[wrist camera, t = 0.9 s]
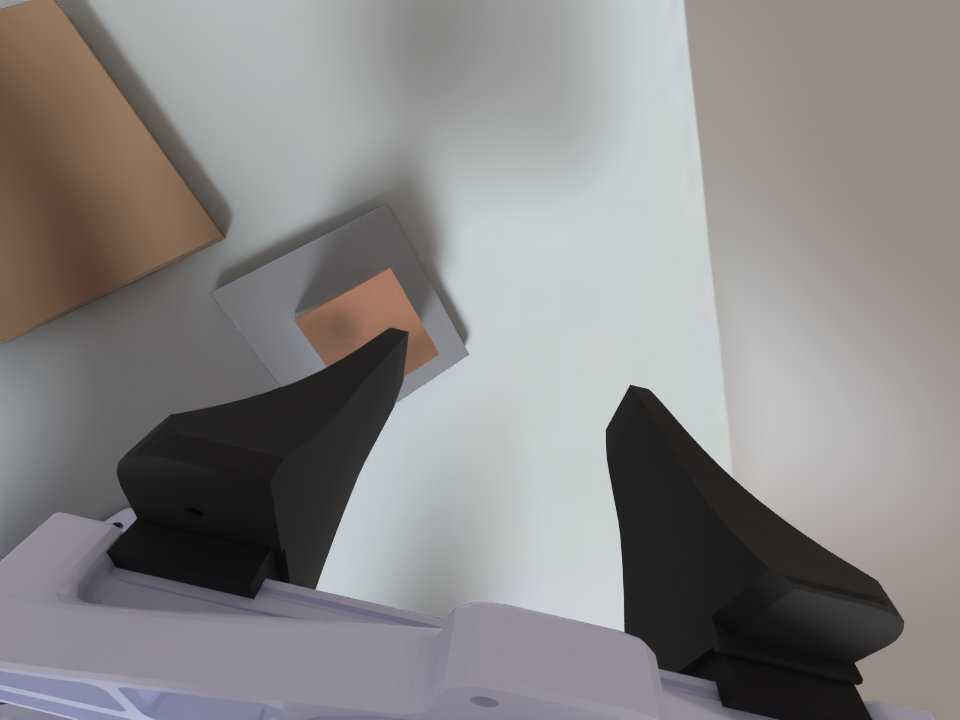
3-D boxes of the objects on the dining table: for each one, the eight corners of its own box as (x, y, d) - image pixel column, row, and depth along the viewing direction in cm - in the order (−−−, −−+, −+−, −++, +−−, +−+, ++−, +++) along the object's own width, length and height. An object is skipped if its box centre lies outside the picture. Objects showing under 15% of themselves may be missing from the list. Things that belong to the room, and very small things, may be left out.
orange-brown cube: (343, 384, 23) (355, 408, 18) (294, 313, 21) (294, 321, 17) (412, 340, 24) (439, 354, 20) (370, 270, 22) (390, 267, 18)
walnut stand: (4, 343, 18) (-14, 346, 17) (-240, 103, 14) (-284, 88, 13) (225, 238, 20) (221, 235, 19) (66, 13, 17) (50, -5, 16)
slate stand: (326, 441, 24) (327, 448, 23) (213, 292, 21) (209, 293, 20) (462, 351, 27) (469, 354, 26) (383, 206, 23) (387, 202, 22)
